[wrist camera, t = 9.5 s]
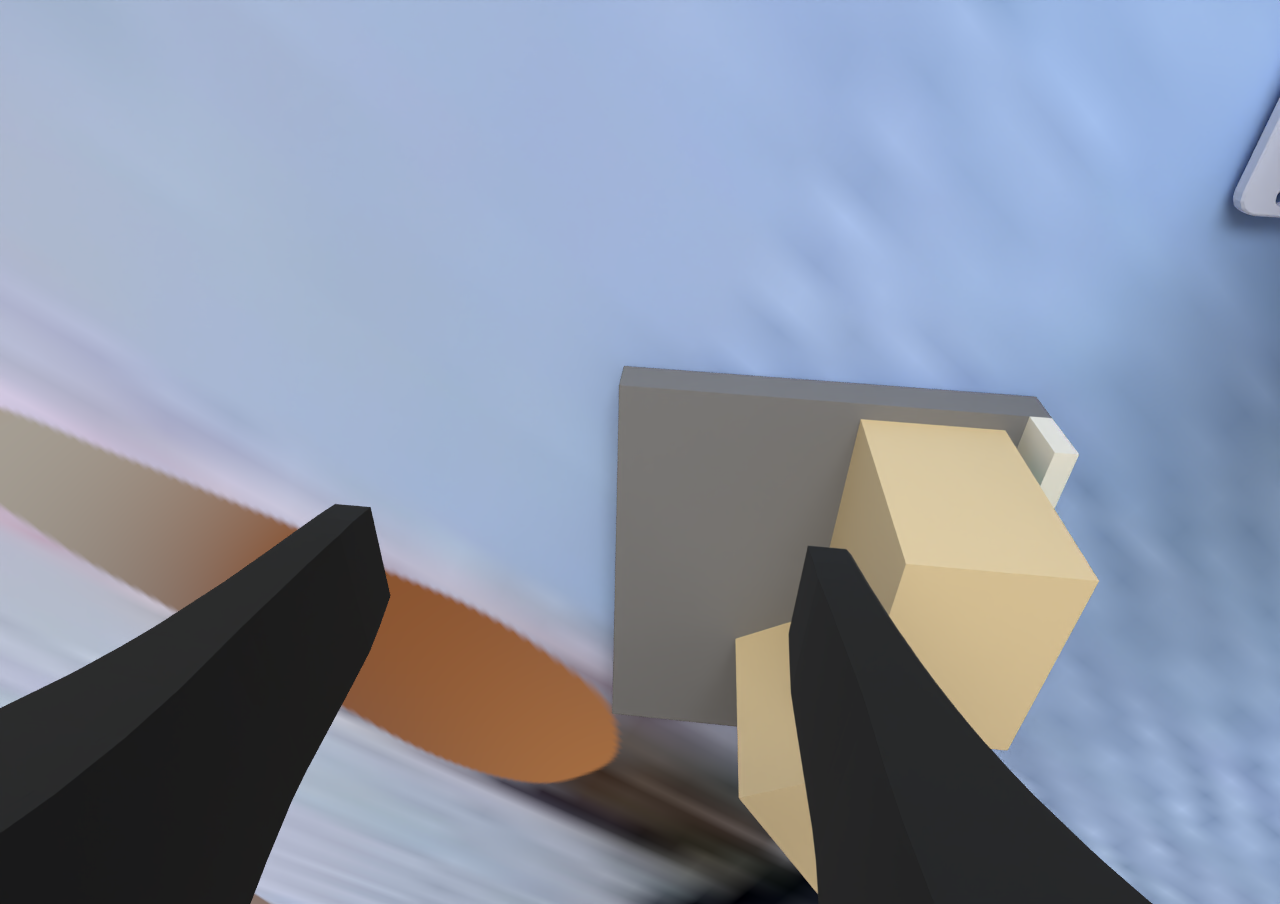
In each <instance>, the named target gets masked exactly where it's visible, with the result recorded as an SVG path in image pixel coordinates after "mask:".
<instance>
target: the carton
mask: <svg viewBox="0 0 1280 904" xmlns="http://www.w3.org/2000/svg"><path fill="white" fill-rule="evenodd" d="M790 625H791V622H788V623H785V624H782V625H778V626H775V627H772V628H769V629H766V630H762V631H759V632H756V633H753V634H749V635H746V636H743V637H740V638H736V639H735V644H736V689H737V735H738V781H739V799H740V800H741V801H742V802H743V804H744V805H745V806H746V807H747V809H748V810H749V811H750V812H751V813H752V815H753V816H754V817H755V818H756V819H757V821H758V822H759V823H760V824H761V826H762V827H763V828H764V829H765V830H766V832H767V833H768V834H769V835H770V836H771V838H772V839H773V840H774V841H775V843H776V844H777V845H778V846H779V847H780V849H781V850H782V851H783V852H784V853H785V855H786V856H787V857H788V858H789V860H790V861H791V862H792V863H793V864H794V866H795V867H796V868H797V869H798V870H799V872H800V873H801V874H802V875H803V877H804V878H805V879H806V880H807V881H808V883H809V884H810V885H811V886H812V887H813V889H814V890H815V891H816V892H817V894H818V887H817V872H816V858H815V849H814V841H813V832H812V825H811V819H810V812H809V806H808V800H807V794H806V787H805V781H804V775H803V768H802V762H801V756H800V750H799V743H798V737H797V730H796V724H795V717H794V711H793V704H792V697H791V687H790V665H789V635H788V634H789V629H790Z"/></svg>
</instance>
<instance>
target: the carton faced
mask: <svg viewBox="0 0 1280 904" xmlns="http://www.w3.org/2000/svg"><path fill="white" fill-rule="evenodd" d="M830 548H840V549H847V550H848V552H849V553H850V554H851V555H852V557H853V558H854V560H855V562H856V563H857V565H858V567H859V568H860V570H861V572H862V574H863V575H864V577H865V579H866V580H867V582H868V583H869V585H870V587H871V588H872V590H873V592H874V593H875V595H876V596H877V598H878V600H879V601H880V603H881V604H882V606H883V607H884V609H885V610H886V612H887V614H888V615H889V617H890V618H891V620H892V621H893V623H894V624H895V626H896V627H897V629H898V630H899V632H900V633H901V634H902V636H903V637H904V639H905V640H906V642H907V643H908V644H909V646H910V647H911V649H912V650H913V652H914V653H915V654H916V656H917V657H918V659H919V660H920V662H921V663H922V664H923V666H924V667H925V668H926V670H927V671H928V672H929V674H930V675H931V676H932V678H933V679H934V680H935V682H936V683H937V684H938V686H939V687H940V688H941V689H942V691H943V692H944V693H945V695H946V696H947V697H948V698H949V700H950V701H951V702H952V704H953V705H954V706H955V707H956V709H957V710H958V711H959V712H960V713H961V715H962V716H963V717H964V718H965V720H966V721H967V722H968V723H969V724H970V726H971V727H972V728H973V729H974V730H975V731H976V733H977V734H978V735H979V736H980V737H981V739H982V740H983V741H984V742H985V743H986V744H987V745H988V746H989V748H990V749H999V750H1008V748H1009V747H1010V745H1011V743H1012V741H1013V739H1014V737H1015V735H1016V734H1017V732H1018V730H1019V728H1020V726H1021V724H1022V722H1023V721H1024V719H1025V717H1026V715H1027V713H1028V711H1029V710H1030V708H1031V706H1032V704H1033V702H1034V700H1035V698H1036V697H1037V695H1038V693H1039V691H1040V689H1041V687H1042V685H1043V684H1044V682H1045V680H1046V678H1047V676H1048V674H1049V672H1050V671H1051V669H1052V667H1053V665H1054V663H1055V661H1056V660H1057V658H1058V656H1059V654H1060V652H1061V650H1062V648H1063V647H1064V645H1065V643H1066V641H1067V639H1068V637H1069V635H1070V634H1071V632H1072V630H1073V628H1074V626H1075V624H1076V623H1077V621H1078V619H1079V617H1080V615H1081V613H1082V611H1083V610H1084V608H1085V606H1086V604H1087V602H1088V600H1089V598H1090V597H1091V595H1092V593H1093V591H1094V589H1095V587H1096V586H1097V584H1098V582H1099V580H1098V579H1097V577H1096V575H1095V574H1094V572H1093V570H1092V569H1091V567H1090V566H1089V564H1088V562H1087V561H1086V559H1085V558H1084V556H1083V554H1082V553H1081V551H1080V550H1079V548H1078V546H1077V545H1076V543H1075V542H1074V540H1073V538H1072V537H1071V535H1070V534H1069V532H1068V530H1067V529H1066V527H1065V525H1064V524H1063V522H1062V521H1061V519H1060V517H1059V516H1058V514H1057V513H1056V511H1055V509H1054V508H1053V506H1052V505H1051V503H1050V501H1049V500H1048V498H1047V497H1046V495H1045V493H1044V492H1043V490H1042V489H1041V487H1040V485H1039V484H1038V482H1037V480H1036V479H1035V477H1034V476H1033V474H1032V472H1031V471H1030V469H1029V468H1028V466H1027V464H1026V463H1025V461H1024V460H1023V458H1022V456H1021V455H1020V453H1019V452H1018V450H1017V448H1016V447H1015V445H1014V444H1013V442H1012V440H1011V439H1010V437H1009V436H1008V434H1007V432H1006V431H1005V430H994V429H981V428H968V427H955V426H942V425H929V424H916V423H903V422H890V421H878V420H865V419H861V420H860V424H859V428H858V432H857V437H856V441H855V445H854V449H853V453H852V457H851V461H850V465H849V470H848V474H847V478H846V482H845V486H844V490H843V494H842V498H841V503H840V507H839V511H838V515H837V519H836V523H835V527H834V531H833V536H832V540H831V544H830Z"/></svg>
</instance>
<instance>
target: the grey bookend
mask: <svg viewBox="0 0 1280 904" xmlns="http://www.w3.org/2000/svg"><path fill="white" fill-rule="evenodd" d="M861 419H865V420H878V421H890V422H903V423H916V424H929V425H942V426H955V427H968V428H981V429H994V430H1005V431H1006V432H1007V434H1008V436H1009V437H1010V439H1011V440H1012V442H1013V444H1014V445H1015V447H1016V448H1017V450H1018V452H1019V453H1020V455H1021V456H1022V458H1023V460H1024V461H1025V463H1026V464H1027V466H1028V468H1029V469H1030V471H1031V472H1032V474H1033V476H1034V477H1035V479H1036V480H1037V482H1038V484H1039V485H1040V487H1041V489H1042V490H1043V492H1044V493H1045V495H1046V497H1047V498H1048V500H1049V501H1050V503H1051V505H1052V506H1053V508H1054V509H1055V506H1056V504H1057V502H1058V500H1059V498H1060V495H1061V493H1062V491H1063V489H1064V487H1065V484H1066V482H1067V480H1068V478H1069V476H1070V474H1071V471H1072V469H1073V467H1074V465H1075V463H1076V460H1077V458H1078V456H1079V454H1078V452H1077V451H1076V450H1075V448H1074V447H1073V446H1072V444H1071V443H1070V442H1069V440H1068V439H1067V438H1066V436H1065V435H1064V434H1063V432H1062V431H1061V430H1060V428H1059V427H1058V426H1057V424H1056V423H1055V421H1054V420H1053V419H1052V417H1051V416H1050V415H1049V413H1048V412H1047V411H1046V409H1045V408H1044V407H1043V405H1042V404H1041V403H1040V401H1039V400H1038V399H1037V397H1032V396H1018V395H1005V394H991V393H978V392H964V391H951V390H938V389H924V388H911V387H897V386H884V385H870V384H857V383H844V382H830V381H817V380H803V379H790V378H776V377H763V376H750V375H736V374H723V373H709V372H696V371H682V370H669V369H656V368H642V367H629V366H624V368H623V372H622V376H621V380H620V384H619V421H618V468H617V516H616V564H615V611H614V659H613V706H612V714H621V715H631V716H640V717H650V718H660V719H670V720H679V721H689V722H699V723H708V724H718V725H728V726H737V689H736V644H735V639H736V638H740V637H743V636H746V635H749V634H753V633H756V632H759V631H762V630H766V629H769V628H772V627H775V626H778V625H782V624H785V623H788V622H791V620H792V616H793V611H794V606H795V602H796V597H797V593H798V588H799V584H800V579H801V575H802V570H803V565H804V561H805V556H806V552H807V547H808V546H817V547H829V548H830V544H831V540H832V536H833V531H834V527H835V523H836V519H837V515H838V511H839V507H840V503H841V498H842V494H843V490H844V486H845V482H846V478H847V474H848V470H849V465H850V461H851V457H852V453H853V449H854V445H855V441H856V437H857V432H858V428H859V424H860V420H861Z"/></svg>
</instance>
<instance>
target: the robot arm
mask: <svg viewBox="0 0 1280 904" xmlns="http://www.w3.org/2000/svg"><path fill="white" fill-rule="evenodd" d="M1279 192H1280V98H1279V100H1278V102H1277V104H1276V106H1275V108H1274V110H1273V112H1272V115H1271V117H1270V119H1269V121H1268V123H1267V125H1266V127H1265V129H1264V131H1263V133H1262V135H1261V137H1260V139H1259V141H1258V144H1257V146H1256V148H1255V150H1254V152H1253V154H1252V156H1251V158H1250V160H1249V162H1248V164H1247V166H1246V168H1245V170H1244V172H1243V175H1242V177H1241V179H1240V181H1239V183H1238V185H1237V187H1236V189H1235V192H1234V196H1233V202H1234V206H1235V207H1236V208H1237V209H1238V210H1239V211H1241V212H1244V213H1246V214H1249V215H1252V216H1263V217H1280V202H1277V203H1276V202H1275V201H1276V197H1277V195H1278V193H1279ZM389 598H390V592H389V588H388V583H387V579H386V574H385V570H384V565H383V561H382V556H381V552H380V547H379V543H378V539H377V534H376V530H375V525H374V521H373V516H372V512H371V507H362V506H351V505H339V504H335V505H333V506H332V507H330V508H328V509H327V510H325V511H324V512H322V513H321V514H319V515H318V516H317V517H315V518H314V519H312V520H311V521H309V522H308V523H307V524H305V525H304V526H302V527H301V528H300V529H298V530H297V531H295V532H294V533H293V534H291V535H290V536H288V537H287V538H286V539H284V540H283V541H281V542H280V543H279V544H277V545H276V546H274V547H273V548H272V549H270V550H269V551H267V552H266V553H265V554H263V555H262V556H260V557H259V558H258V559H256V560H255V561H253V562H252V563H250V564H249V565H247V566H246V567H245V568H243V569H242V570H240V571H239V572H238V573H236V574H235V575H233V576H232V577H230V578H229V579H227V580H226V581H225V582H223V583H222V584H220V585H219V586H217V587H215V588H214V589H212V590H211V591H209V592H208V593H206V594H205V595H203V596H202V597H200V598H198V599H197V600H195V601H194V602H193V603H191V604H189V605H188V606H186V607H185V608H183V609H181V610H180V611H178V612H177V613H175V614H174V615H172V616H171V617H169V618H168V619H166V620H164V621H163V622H161V623H160V624H158V625H156V626H155V627H153V628H151V629H150V630H148V631H147V632H145V633H143V634H141V635H140V636H138V637H136V638H135V639H133V640H131V641H129V642H128V643H126V644H124V645H123V646H121V647H119V648H117V649H115V650H114V651H112V652H110V653H108V654H106V655H104V656H103V657H101V658H99V659H97V660H95V661H94V662H92V663H90V664H88V665H86V666H85V667H83V668H81V669H79V670H77V671H75V672H73V673H71V674H69V675H67V676H65V677H63V678H61V679H59V680H57V681H55V682H53V683H51V684H49V685H47V686H45V687H43V688H41V689H39V690H37V691H35V692H33V693H30V694H28V695H26V696H24V697H22V698H20V699H18V700H16V701H14V702H12V703H10V704H8V705H6V706H4V707H2V708H0V904H250V903H251V901H252V898H253V896H254V893H255V890H256V888H257V885H258V883H259V880H260V877H261V875H262V872H263V870H264V867H265V864H266V862H267V859H268V857H269V855H270V852H271V850H272V847H273V845H274V843H275V840H276V838H277V835H278V833H279V831H280V828H281V826H282V823H283V821H284V818H285V816H286V814H287V811H288V809H289V806H290V804H291V802H292V799H293V797H294V795H295V793H296V791H297V789H298V787H299V785H300V783H301V781H302V779H303V777H304V775H305V773H306V771H307V769H308V767H309V765H310V763H311V761H312V759H313V758H314V756H315V754H316V752H317V750H318V748H319V746H320V745H321V743H322V741H323V739H324V737H325V735H326V733H327V731H328V730H329V728H330V726H331V724H332V722H333V720H334V718H335V717H336V715H337V713H338V711H339V709H340V707H341V705H342V703H343V702H344V700H345V698H346V696H347V694H348V692H349V690H350V688H351V687H352V685H353V682H354V681H355V679H356V677H357V675H358V673H359V671H360V669H361V667H362V666H363V664H364V662H365V660H366V658H367V656H368V654H369V652H370V650H371V647H372V644H373V642H374V639H375V637H376V634H377V631H378V629H379V627H380V624H381V621H382V618H383V615H384V612H385V610H386V607H387V604H388V601H389ZM788 635H789V665H790V687H791V697H792V704H793V711H794V717H795V724H796V730H797V737H798V743H799V750H800V756H801V762H802V768H803V775H804V781H805V787H806V794H807V800H808V806H809V812H810V819H811V825H812V832H813V841H814V849H815V858H816V872H817V887H818V902H819V904H1152V903H1151V902H1149V901H1148V900H1147V899H1146V898H1145V897H1144V896H1143V895H1141V894H1140V893H1139V892H1138V891H1137V890H1136V889H1134V888H1133V887H1132V886H1131V885H1130V884H1129V883H1128V882H1126V881H1125V880H1124V879H1123V878H1122V877H1121V876H1119V875H1118V874H1117V873H1116V872H1115V871H1114V870H1113V869H1111V868H1110V867H1109V866H1108V865H1107V864H1106V863H1105V862H1104V861H1102V860H1101V859H1100V858H1099V857H1098V856H1097V855H1096V854H1095V853H1094V852H1093V851H1091V850H1090V849H1089V848H1088V847H1087V846H1086V845H1085V844H1084V843H1083V842H1082V841H1081V840H1080V839H1079V838H1078V837H1077V836H1076V835H1075V834H1074V833H1073V832H1072V831H1071V830H1070V829H1068V828H1067V827H1066V826H1065V825H1064V824H1063V823H1062V822H1061V821H1060V820H1059V819H1058V818H1057V817H1056V816H1055V815H1054V814H1053V813H1052V812H1051V811H1050V810H1049V809H1048V808H1047V807H1046V806H1045V805H1043V804H1042V803H1041V802H1040V801H1039V800H1038V799H1037V798H1036V797H1035V796H1034V795H1033V794H1032V793H1031V792H1030V791H1029V790H1028V789H1027V788H1026V786H1025V785H1024V784H1023V783H1022V782H1021V781H1020V780H1019V779H1018V778H1017V777H1016V776H1015V775H1014V774H1013V773H1012V772H1011V771H1010V770H1009V769H1008V768H1007V766H1006V765H1005V764H1004V763H1003V762H1002V761H1001V760H1000V759H999V758H998V756H997V755H996V754H995V753H994V752H993V751H992V750H991V749H990V748H989V746H988V745H987V744H986V743H985V742H984V741H983V740H982V739H981V737H980V736H979V735H978V734H977V733H976V731H975V730H974V729H973V728H972V727H971V726H970V724H969V723H968V722H967V721H966V720H965V718H964V717H963V716H962V715H961V713H960V712H959V711H958V710H957V709H956V707H955V706H954V705H953V704H952V702H951V701H950V700H949V698H948V697H947V696H946V695H945V693H944V692H943V691H942V689H941V688H940V687H939V686H938V684H937V683H936V682H935V680H934V679H933V678H932V676H931V675H930V674H929V672H928V671H927V670H926V668H925V667H924V666H923V664H922V663H921V662H920V660H919V659H918V657H917V656H916V654H915V653H914V652H913V650H912V649H911V647H910V646H909V644H908V643H907V642H906V640H905V639H904V637H903V636H902V634H901V633H900V632H899V630H898V629H897V627H896V626H895V624H894V623H893V621H892V620H891V618H890V617H889V615H888V614H887V612H886V610H885V609H884V607H883V606H882V604H881V603H880V601H879V600H878V598H877V596H876V595H875V593H874V592H873V590H872V588H871V587H870V585H869V583H868V582H867V580H866V579H865V577H864V575H863V574H862V572H861V570H860V568H859V567H858V565H857V563H856V562H855V560H854V558H853V557H852V555H851V554H850V553H849V552H848V550H847V549H840V548H829V547H817V546H808V547H807V552H806V556H805V561H804V565H803V570H802V575H801V579H800V584H799V588H798V593H797V597H796V602H795V606H794V611H793V616H792V620H791V625H790V629H789V634H788Z"/></svg>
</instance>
